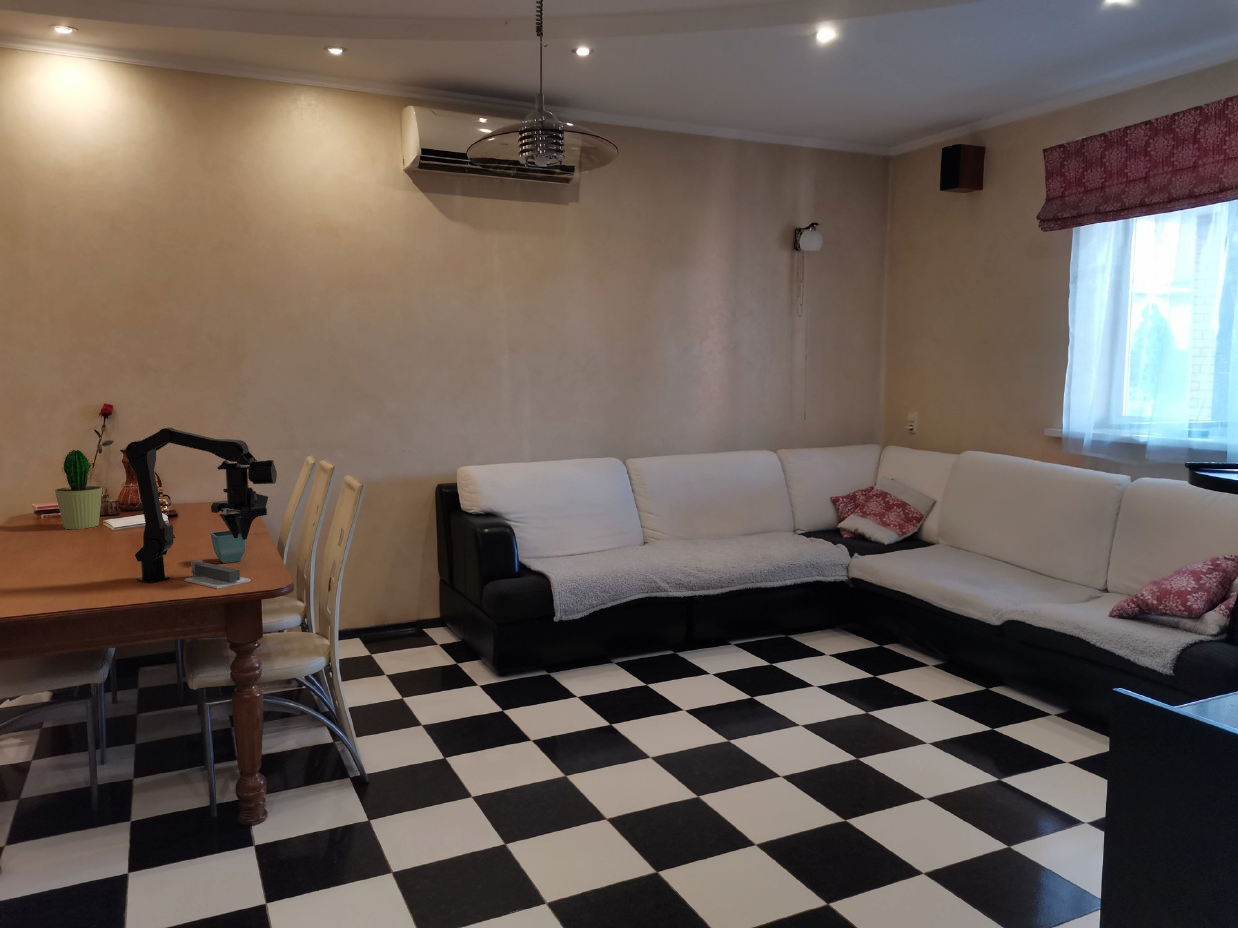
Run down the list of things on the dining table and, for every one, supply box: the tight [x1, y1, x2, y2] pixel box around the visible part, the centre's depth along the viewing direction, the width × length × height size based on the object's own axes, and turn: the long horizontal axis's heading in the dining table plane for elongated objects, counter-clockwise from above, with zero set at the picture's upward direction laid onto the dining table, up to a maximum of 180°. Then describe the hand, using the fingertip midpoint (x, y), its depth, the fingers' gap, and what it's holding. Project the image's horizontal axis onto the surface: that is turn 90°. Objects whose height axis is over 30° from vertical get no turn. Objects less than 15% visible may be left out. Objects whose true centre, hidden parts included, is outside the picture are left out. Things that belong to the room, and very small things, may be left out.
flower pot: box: [210, 529, 247, 564], centre depth 274 cm, size 9×9×9 cm
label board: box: [184, 573, 251, 590], centre depth 250 cm, size 19×10×1 cm, turn 56°
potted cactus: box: [54, 449, 103, 530], centre depth 334 cm, size 15×15×30 cm
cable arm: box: [190, 559, 241, 582], centre depth 250 cm, size 20×3×3 cm, turn 56°
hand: (240, 538), depth 253 cm, fingers open, 4 cm apart
